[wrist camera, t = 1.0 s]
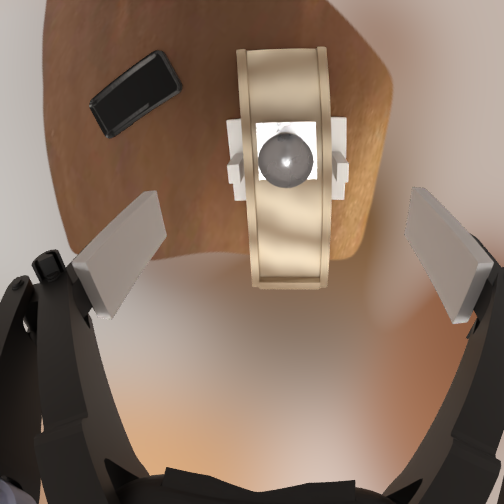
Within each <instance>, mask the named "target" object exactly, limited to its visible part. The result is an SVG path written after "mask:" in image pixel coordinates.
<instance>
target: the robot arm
mask: <svg viewBox="0 0 504 504" xmlns="http://www.w3.org/2000/svg"><path fill="white" fill-rule="evenodd" d="M404 235H405V237H406V238H407V240H408V242H409V243H410V245H411V247H412V248H413V250H414V251H415V253H416V255H417V257H418V258H419V260H420V262H421V264H422V265H423V267H424V269H425V271H426V272H427V274H428V276H429V278H430V280H431V282H432V283H433V285H434V287H435V289H436V291H437V293H438V295H439V297H440V299H441V301H442V303H443V305H444V307H445V309H446V311H447V313H448V315H449V317H450V319H451V321H452V323H453V324H457V323H464V322H468V320H469V318H470V316H471V314H472V312H473V310H474V311H475V313H476V315H477V319H476V321H475V323H474V324H473V326H472V328H471V330H470V332H469V334H468V335H467V337H466V338H467V339H469V340H468V343H467V346H466V349H465V352H464V355H463V357H462V360H461V362H460V365H459V367H458V370H457V372H456V375H455V377H454V379H453V382H452V384H451V387H450V389H449V391H448V393H447V395H446V398H445V400H444V402H443V404H442V406H441V408H440V410H439V412H438V414H437V416H436V418H435V420H434V421H433V423H432V425H431V427H430V429H429V430H428V432H427V434H426V436H425V437H424V439H423V441H422V443H421V444H420V446H419V447H418V449H417V451H416V452H415V454H414V456H413V458H412V459H411V460H410V462H409V463H408V465H407V466H406V468H405V469H404V470H403V471H402V473H401V474H400V475H399V476H398V477H397V478H396V479H395V480H394V481H393V482H392V483H391V484H390V485H389V486H388V488H387V489H386V490H385V492H384V493H383V494H382V495H381V494H379V493H376V492H374V491H371V490H367V489H363V488H357V487H355V480H351V481H338V482H325V483H323V482H321V483H306V484H302V485H297V486H292V487H287V488H282V489H277V490H271V491H265V492H253V491H250V490H247V489H244V488H241V487H238V486H235V485H232V484H229V483H227V482H224V481H221V480H219V479H216V478H214V477H211V476H208V475H202V474H197V473H191V472H187V471H182V470H177V469H173V468H169V467H166V471H165V474H162V475H152V476H150V475H149V473H148V472H147V470H146V469H145V467H144V466H143V465H142V464H141V462H140V461H139V460H138V458H137V457H136V455H135V453H134V451H133V449H132V446H131V444H130V442H129V439H128V437H127V434H126V432H125V430H124V427H123V424H122V422H121V419H120V416H119V414H118V411H117V408H116V405H115V403H114V400H113V397H112V394H111V391H110V387H109V384H108V381H107V378H106V374H105V371H104V368H103V364H102V361H101V357H100V353H99V349H98V345H97V341H96V337H95V333H94V328H93V323H92V319H91V317H90V316H89V314H88V312H89V311H90V309H91V308H92V307H93V309H94V311H95V313H96V315H97V317H99V318H104V319H113V317H114V316H115V314H116V312H117V311H118V309H119V308H120V306H121V304H122V303H123V301H124V300H125V298H126V296H127V295H128V293H129V292H130V290H131V288H132V287H133V285H134V284H135V282H136V281H137V279H138V278H139V276H140V275H141V273H142V272H143V270H144V268H145V267H146V265H147V264H148V262H149V261H150V260H151V258H152V257H153V255H154V254H155V252H156V251H157V249H158V248H159V246H160V245H161V244H162V242H163V241H164V239H165V238H166V236H167V235H166V231H165V226H164V222H163V218H162V214H161V209H160V205H159V200H158V196H157V191H146V192H143V193H142V194H141V195H140V196H139V197H137V198H136V199H135V200H134V201H133V202H132V203H131V204H130V205H129V206H127V207H126V208H125V209H124V210H123V211H122V212H121V213H120V214H119V215H118V216H117V217H116V218H115V219H114V220H113V221H111V222H110V223H109V224H108V225H107V226H106V227H105V228H104V229H103V230H102V231H101V232H100V233H99V234H98V235H97V236H96V237H95V238H94V239H93V240H92V241H91V242H90V243H89V244H88V245H87V246H86V247H85V248H84V249H83V250H82V251H81V252H80V254H78V255H77V257H75V258H74V259H73V261H72V262H71V263H70V264H69V265H68V266H67V267H65V265H64V263H63V261H62V258H61V256H60V254H59V251H58V250H56V249H55V250H50V251H46V252H44V253H43V254H41V255H39V256H38V257H37V258H36V259H35V260H34V261H33V263H32V267H33V269H34V271H35V273H36V275H37V277H38V279H39V281H40V283H39V284H34V285H33V284H32V282H31V280H30V279H29V277H28V276H26V275H24V276H21V277H17V278H16V279H14V280H13V281H12V283H11V284H10V285H9V286H8V288H7V289H6V292H5V294H4V296H3V298H2V300H1V302H0V504H39V498H40V484H41V481H40V480H42V485H43V488H44V492H45V495H46V499H47V502H48V504H486V502H487V499H488V497H489V495H490V493H491V491H492V489H493V487H494V485H495V482H496V480H497V478H498V475H499V472H500V469H501V461H500V460H498V459H496V457H495V454H496V451H497V448H498V445H499V442H500V439H501V436H502V433H503V430H504V267H501V266H500V265H499V264H498V263H497V261H496V260H495V259H494V257H493V256H492V255H491V254H490V253H489V252H488V250H487V249H486V248H485V247H483V245H482V243H481V242H480V241H479V240H478V239H477V238H476V237H475V236H473V235H472V234H470V233H469V232H468V231H467V230H466V229H465V228H464V227H463V226H462V225H461V223H460V222H459V221H458V220H457V219H456V218H455V217H454V216H453V215H452V214H451V213H450V212H449V211H448V210H447V209H446V208H445V207H444V206H443V205H442V204H441V203H440V202H439V201H438V200H437V199H436V198H435V197H434V196H433V195H432V194H431V193H430V192H429V191H428V190H427V189H425V188H420V187H412V193H411V199H410V205H409V212H408V218H407V223H406V228H405V234H404ZM23 321H24V322H25V324H26V325H27V327H28V331H27V332H26V331H25V328H24V326H23ZM42 418H43V425H44V431H43V433H41V419H42ZM497 504H504V478H503V482H502V486H501V490H500V494H499V498H498V502H497Z"/></svg>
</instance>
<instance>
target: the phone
mask: <svg viewBox="0 0 504 504" xmlns="http://www.w3.org/2000/svg"><path fill="white" fill-rule="evenodd" d="M181 90H182V83H181V81H180V79H179V78H178V76H177V74H176V72H175V70H174V69H173V67H172V65H171V63H170V62H169V60H168V58H167V56H166V54H165V53H164V52H163V51H158V50H156V51H154V52H152V53H150V54H149V55H147V56H146V57H145V58H143V59H142V60H140V61H139V62H138V63H136V64H135V65H133V66H132V67H131V68H129V69H128V70H127V71H125V72H124V73H123V74H122V75H120V76H119V77H118V78H116V79H115V80H114V81H113V82H111V83H110V84H109V85H108V86H107V87H105V88H104V89H103V90H102V91H101V92H100V93H98V94H97V95H96V96H95V97H94V98H93V99H92V100H91V101H90V104H89V107H90V109H91V111H92V113H93V115H94V117H95V119H96V121H97V122H98V124H99V126H100V128H101V130H102V132H103V133H104V135H105V136H106V137H107V138H113V137H115V136H116V135H117V134H119V133H121V131H124V130H125V129H126V128H128V127H129V126H131V125H132V124H133V123H134V122H135V121H137V120H138V119H140V118H141V117H143V116H144V115H146V114H147V113H149V112H150V111H152V110H153V109H155V108H156V107H158V106H159V105H161V104H162V103H164V102H166V101H167V100H169V99H170V98H172V97H174V96H175V95H177V94H179V93H180V92H181Z"/></svg>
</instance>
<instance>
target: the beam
mask: <svg viewBox="0 0 504 504" xmlns="http://www.w3.org/2000/svg"><path fill="white" fill-rule="evenodd" d="M236 53H237V68H238V83H239V99H240V114H241V129H242V144H243V159H244V176H245V188H246V203H247V217H248V232H249V246H250V261H251V275H252V287H259V289H320V287H327V282H328V269H329V253H330V233H331V202H332V174H333V168H332V138H331V109H330V90H329V75H328V62H327V51H326V47H317V49H268V50H253V51H246V50H245V49H240V50H236ZM270 122H316V152H317V179H307V180H306V181H304V182H303V183H302V184H300V185H298V186H296V187H292V188H280V187H277V186H274V185H272V184H271V183H269V182H268V181H267V180H259V166H258V149H257V132H256V123H270Z"/></svg>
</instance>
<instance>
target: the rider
mask: <svg viewBox="0 0 504 504" xmlns="http://www.w3.org/2000/svg"><path fill="white" fill-rule="evenodd" d="M256 132H257V149H258V166H259V180H267V181H268V182H269V183H271V184H272V185H274V186H277V187H280V188H292V187H296V186H298V185H300V184H302V183H303V182H304V181H306V180H307V179H317V152H316V122H270V123H256Z"/></svg>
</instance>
